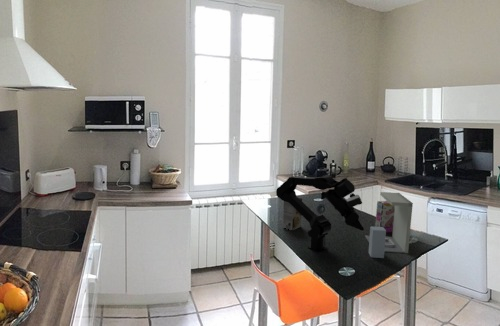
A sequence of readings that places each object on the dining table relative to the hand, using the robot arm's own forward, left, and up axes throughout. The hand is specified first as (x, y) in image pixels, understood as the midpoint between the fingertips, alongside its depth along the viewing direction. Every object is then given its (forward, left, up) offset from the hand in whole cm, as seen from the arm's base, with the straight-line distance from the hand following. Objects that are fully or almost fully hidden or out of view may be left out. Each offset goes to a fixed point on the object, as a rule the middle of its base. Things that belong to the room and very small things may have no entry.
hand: (361, 226), depth 163 cm
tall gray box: (+5, -5, -13) cm, 15 cm away
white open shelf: (+21, 0, -13) cm, 25 cm away
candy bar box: (+39, +10, -13) cm, 43 cm away
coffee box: (+2, +44, -13) cm, 46 cm away
